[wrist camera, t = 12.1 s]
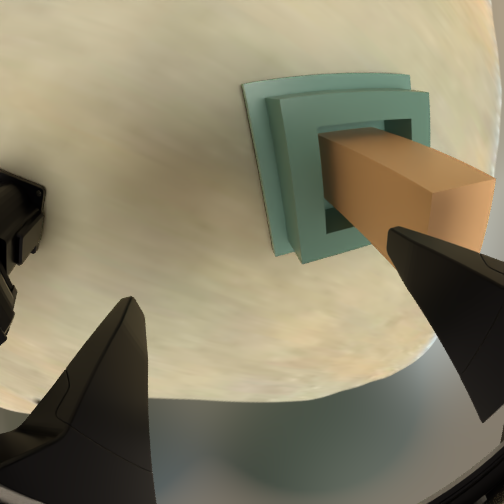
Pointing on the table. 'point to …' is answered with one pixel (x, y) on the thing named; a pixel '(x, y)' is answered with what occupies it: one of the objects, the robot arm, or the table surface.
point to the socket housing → (308, 153)
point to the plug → (403, 188)
